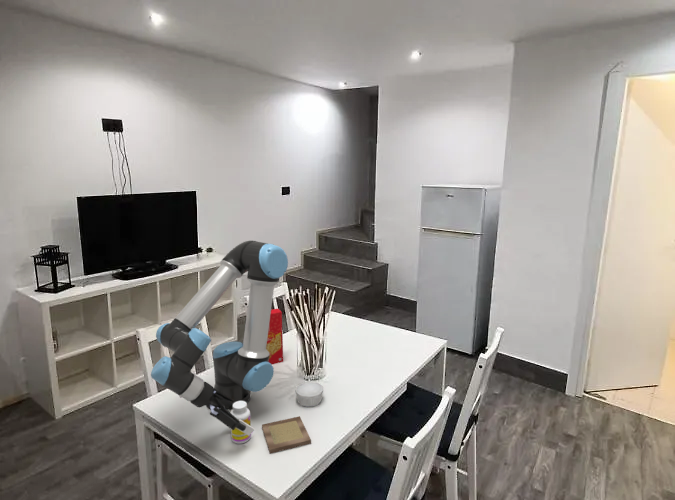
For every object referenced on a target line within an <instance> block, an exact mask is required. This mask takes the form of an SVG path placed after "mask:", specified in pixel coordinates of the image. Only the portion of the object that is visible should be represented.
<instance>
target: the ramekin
mask: <svg viewBox="0 0 675 500" xmlns="http://www.w3.org/2000/svg"><path fill="white" fill-rule="evenodd" d="M294 392H295V396H296V400H297V402H298V403H299V405H301V406H303V407H307V408H308V407H309V408H311V407H315V406H317V405H319V404H320V403H321V402H322V399H323V394H324V386H323V385H322V384H321V383H319V382H317V381H304V382H301V383H299V384H298V385H296V387H295V391H294Z"/></svg>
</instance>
